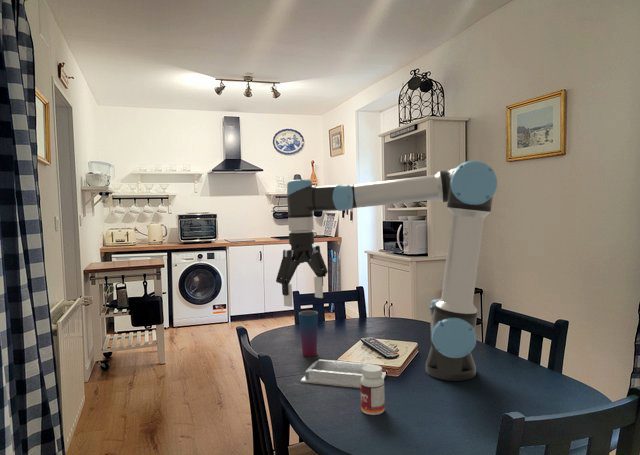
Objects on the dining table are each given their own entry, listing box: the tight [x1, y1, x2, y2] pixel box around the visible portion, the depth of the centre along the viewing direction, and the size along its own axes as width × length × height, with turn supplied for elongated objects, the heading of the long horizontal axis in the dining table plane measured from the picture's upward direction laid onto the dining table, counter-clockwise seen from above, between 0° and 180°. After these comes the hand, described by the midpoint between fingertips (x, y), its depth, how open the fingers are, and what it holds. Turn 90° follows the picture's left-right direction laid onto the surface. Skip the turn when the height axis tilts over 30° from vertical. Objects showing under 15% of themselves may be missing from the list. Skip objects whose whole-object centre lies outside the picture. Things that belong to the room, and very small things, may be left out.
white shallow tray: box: [300, 358, 387, 389], centre depth 144 cm, size 24×14×3 cm, turn 72°
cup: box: [298, 310, 319, 357], centre depth 166 cm, size 7×7×15 cm
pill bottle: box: [359, 364, 386, 416], centre depth 120 cm, size 6×6×11 cm
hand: (304, 301), depth 140 cm, fingers open, 13 cm apart
